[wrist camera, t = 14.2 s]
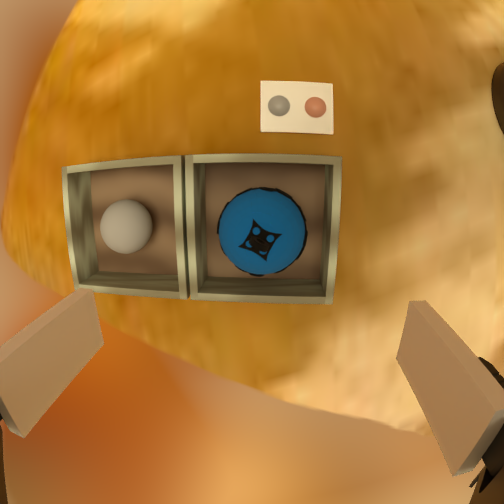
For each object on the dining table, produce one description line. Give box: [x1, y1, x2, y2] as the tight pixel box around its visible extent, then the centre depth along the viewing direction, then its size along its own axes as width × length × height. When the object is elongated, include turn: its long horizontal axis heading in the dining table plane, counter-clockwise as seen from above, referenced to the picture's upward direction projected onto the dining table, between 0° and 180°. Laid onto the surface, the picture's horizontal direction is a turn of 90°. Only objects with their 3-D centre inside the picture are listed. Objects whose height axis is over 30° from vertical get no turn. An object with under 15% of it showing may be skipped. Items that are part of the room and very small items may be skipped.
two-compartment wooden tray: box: [62, 154, 342, 304], centre depth 33 cm, size 15×30×6 cm, turn 90°
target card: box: [261, 81, 333, 135], centre depth 31 cm, size 6×8×1 cm
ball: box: [100, 199, 152, 254], centre depth 32 cm, size 6×6×6 cm
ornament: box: [217, 187, 308, 277], centre depth 29 cm, size 9×9×10 cm
